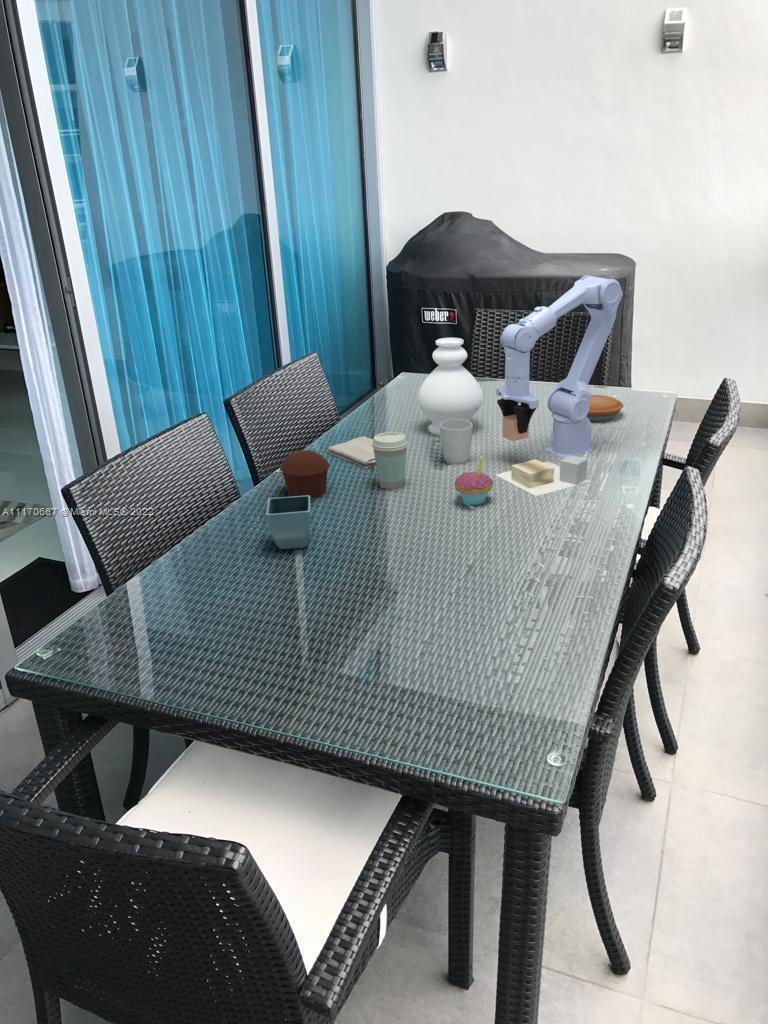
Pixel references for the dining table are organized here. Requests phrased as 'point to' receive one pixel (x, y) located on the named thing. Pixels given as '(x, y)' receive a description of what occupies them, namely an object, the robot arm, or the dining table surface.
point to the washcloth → (355, 452)
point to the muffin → (305, 473)
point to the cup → (456, 440)
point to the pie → (603, 408)
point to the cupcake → (474, 486)
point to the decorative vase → (449, 387)
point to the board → (546, 487)
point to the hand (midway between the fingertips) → (516, 429)
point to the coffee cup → (390, 458)
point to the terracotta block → (513, 429)
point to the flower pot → (289, 521)
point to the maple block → (532, 473)
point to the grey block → (573, 469)
